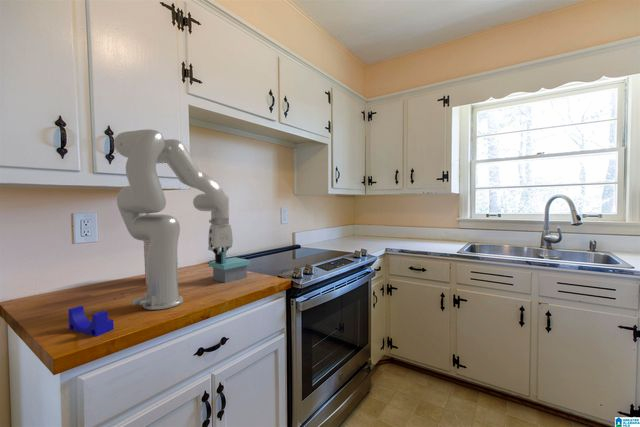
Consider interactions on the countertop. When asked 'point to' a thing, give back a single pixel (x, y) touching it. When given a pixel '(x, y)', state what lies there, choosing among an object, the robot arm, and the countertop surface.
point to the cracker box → (146, 246)
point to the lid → (229, 262)
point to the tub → (229, 274)
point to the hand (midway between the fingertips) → (220, 262)
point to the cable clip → (83, 325)
